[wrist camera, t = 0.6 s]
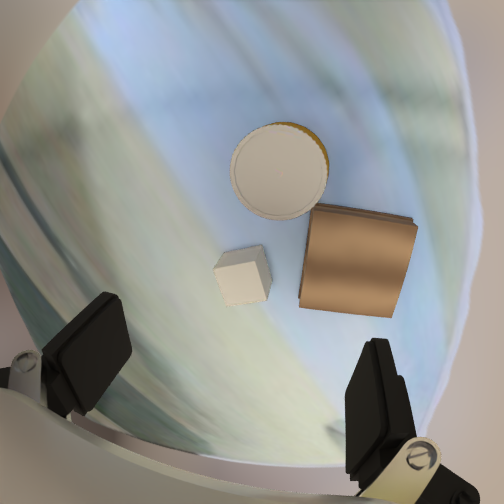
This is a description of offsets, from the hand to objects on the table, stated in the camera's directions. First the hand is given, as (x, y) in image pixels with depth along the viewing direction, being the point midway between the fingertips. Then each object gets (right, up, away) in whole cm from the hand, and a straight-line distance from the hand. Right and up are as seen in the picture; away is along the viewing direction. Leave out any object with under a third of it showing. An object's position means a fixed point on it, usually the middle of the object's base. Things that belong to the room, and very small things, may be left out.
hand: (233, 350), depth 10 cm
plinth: (+13, +3, +24) cm, 27 cm away
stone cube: (0, +2, +27) cm, 27 cm away
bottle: (+5, +14, +21) cm, 26 cm away
